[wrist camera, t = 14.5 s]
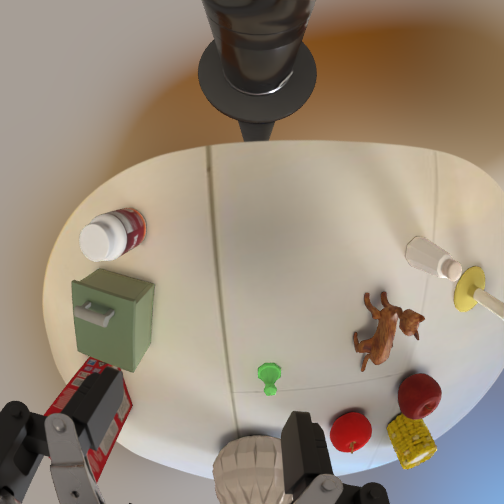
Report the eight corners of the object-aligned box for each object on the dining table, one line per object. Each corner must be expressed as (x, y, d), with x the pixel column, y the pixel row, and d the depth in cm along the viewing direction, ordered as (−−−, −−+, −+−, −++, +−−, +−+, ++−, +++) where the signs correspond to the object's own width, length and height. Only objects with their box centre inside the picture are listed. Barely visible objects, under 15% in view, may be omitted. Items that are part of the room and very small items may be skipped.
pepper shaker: (433, 244, 39) (473, 263, 28) (419, 272, 40) (456, 296, 30) (414, 229, 38) (455, 245, 28) (399, 258, 40) (436, 281, 29)
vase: (302, 419, 49) (321, 542, 20) (298, 461, 54) (309, 556, 25) (208, 422, 49) (188, 543, 20) (222, 464, 54) (212, 557, 25)
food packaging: (94, 350, 45) (30, 433, 21) (116, 354, 45) (54, 446, 21) (113, 400, 49) (70, 480, 25) (132, 405, 49) (93, 491, 25)
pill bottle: (127, 254, 40) (92, 277, 29) (107, 222, 39) (66, 237, 28) (155, 232, 39) (123, 250, 28) (133, 199, 38) (95, 207, 27)
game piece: (285, 366, 45) (288, 388, 39) (275, 382, 46) (277, 404, 40) (262, 359, 44) (263, 381, 39) (253, 376, 46) (253, 398, 40)
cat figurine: (375, 365, 45) (402, 413, 32) (344, 369, 45) (365, 421, 32) (394, 278, 41) (438, 315, 27) (359, 280, 41) (397, 321, 27)
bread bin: (99, 268, 41) (74, 284, 33) (154, 283, 41) (136, 304, 34) (100, 327, 44) (80, 348, 36) (150, 343, 44) (135, 369, 37)
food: (414, 399, 50) (411, 419, 53) (376, 425, 49) (376, 442, 52) (450, 433, 36) (442, 450, 39) (410, 465, 34) (405, 479, 37)
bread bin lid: (74, 279, 33) (57, 290, 29) (136, 299, 33) (122, 314, 29) (80, 348, 36) (67, 363, 32) (135, 369, 37) (125, 387, 32)
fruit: (338, 404, 48) (349, 439, 38) (372, 406, 48) (386, 438, 39) (319, 430, 50) (327, 463, 40) (352, 431, 51) (362, 462, 41)
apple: (388, 402, 48) (404, 432, 38) (392, 373, 46) (411, 404, 36) (423, 388, 47) (441, 415, 38) (429, 358, 45) (451, 385, 35)
